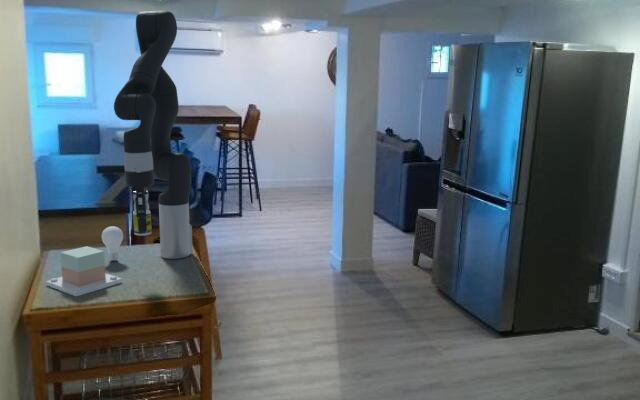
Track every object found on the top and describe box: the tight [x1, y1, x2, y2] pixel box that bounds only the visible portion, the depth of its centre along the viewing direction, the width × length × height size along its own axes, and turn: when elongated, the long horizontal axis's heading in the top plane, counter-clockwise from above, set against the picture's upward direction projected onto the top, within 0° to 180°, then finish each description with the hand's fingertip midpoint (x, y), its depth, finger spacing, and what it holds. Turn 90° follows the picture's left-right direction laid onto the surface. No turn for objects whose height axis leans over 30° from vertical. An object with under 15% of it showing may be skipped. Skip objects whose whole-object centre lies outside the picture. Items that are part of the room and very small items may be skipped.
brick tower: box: [45, 245, 123, 297], centre depth 165 cm, size 14×14×9 cm
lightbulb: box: [101, 225, 124, 262], centre depth 186 cm, size 6×6×11 cm
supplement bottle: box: [132, 203, 153, 236], centre depth 166 cm, size 5×5×8 cm
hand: (142, 228), depth 167 cm, fingers closed on supplement bottle, 4 cm apart
